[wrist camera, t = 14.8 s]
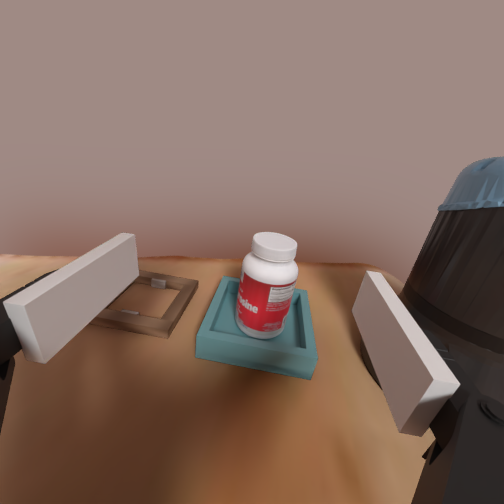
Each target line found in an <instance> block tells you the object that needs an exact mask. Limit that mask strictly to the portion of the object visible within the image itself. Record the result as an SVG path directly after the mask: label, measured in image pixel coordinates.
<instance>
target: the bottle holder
mask: <svg viewBox="0 0 504 504" xmlns="http://www.w3.org/2000/svg"><path fill="white" fill-rule="evenodd" d="M134 282H137V283H143V284H148V285H152V287H155V288H161V289H166V288H170V289H176V290H181V291H180V292H179V293H178V295H177V296H176V298H175V299H174V301H173V302H172V304H171V305H170V306H169V308H168V309H167V311H166V312H165V314H164V315H163V316H162V318H161V319H158V318H153V317H148V316H142V315H139V312H135V311H130V310H124V309H122V310H121V311H116V310H111V309H106V308H107V307H108V306H109V305H110V304H111V303H112V302H114V301H115V300H116V299H117V298H118V297H119V296H120V295H121V294H122V293H123V292H124V291H125V290H126V289H127V288H129V287H130V286H131V285H132V284H133V283H134ZM197 289H198V281H197V280H192V279H186V278H181V277H175V276H170V275H164V274H159V273H153V272H148V271H142V270H139V276H138V277H137V278H136V279H135V280H134V281H133V282H132V283H131V284H129V285H128V286H127V287H126V288H125V289H124V290H123V291H122V292H121V293H120V294H119V295H118V296H117V297H116V298H115V299H114V300H113V301H111V302H110V303H109V304H108V305H107V306H106V307H105V308H104V309H103V310H102V311H101V312H100V313H99V314H98V315H97V316H96V317H94V318H93V319H92V320H91V321H90V322H89V324H94V325H99V326H105V327H110V328H115V329H120V330H125V331H130V332H135V333H141V334H146V335H151V336H156V337H161V338H166V339H168V338H169V336H170V334H171V333H172V331H173V329H174V328H175V326H176V324H177V322H178V321H179V319H180V317H181V316H182V314H183V312H184V311H185V309H186V307H187V306H188V304H189V302H190V300H191V299H192V297H193V295H194V294H195V292H196V290H197Z"/></svg>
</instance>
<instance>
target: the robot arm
mask: <svg viewBox="0 0 504 504" xmlns="http://www.w3.org/2000/svg"><path fill="white" fill-rule="evenodd" d="M438 211H439V213H438V215H437V217H436V219H435V221H434V223H433V225H432V227H431V230H430V232H429V234H428V236H427V238H426V241H425V243H424V245H423V247H422V249H421V251H420V253H419V255H418V258H417V260H416V262H415V264H414V267H413V268H412V271H411V273H410V275H409V277H408V279H407V281H406V283H405V286H404V288H403V290H402V292H401V293H400V294H399V295H398V296H397V295H396V294H395V292H394V291H393V289H392V288H391V287H390V285H389V284H388V282H387V281H386V280H385V278H384V277H383V275H382V274H381V273H378V272H372V271H366V273H365V276H364V278H363V281H362V284H361V286H360V289H359V292H358V295H357V297H356V300H355V303H354V305H353V308H352V313H353V316H354V318H355V321H356V323H357V326H358V328H359V331H360V334H361V336H362V340H361V352H362V356H363V359H364V362H365V364H366V366H367V368H368V370H369V371H370V373H371V374H372V376H373V377H374V379H375V380H376V381H377V383H378V384H379V385H380V386H381V388H382V390H383V392H384V395H385V398H386V400H387V403H388V405H389V408H390V410H391V413H392V416H393V418H394V421H395V423H396V426H397V428H398V431H399V433H404V434H410V435H415V436H420V437H422V436H423V435H424V433H425V432H426V430H427V429H428V428H429V427H430V428H431V430H432V432H433V434H434V436H435V438H436V439H435V441H434V442H433V443H432V444H431V446H430V447H429V448H428V449H427V451H426V452H425V453H424V455H423V456H422V457H423V458H424V459H425V460H426V462H425V465H424V468H423V471H422V473H421V476H420V479H419V482H418V485H417V488H416V491H415V494H414V497H413V500H412V503H411V504H504V157H493V158H488V159H483V160H479V161H476V162H474V163H472V164H470V165H469V166H467V167H466V168H465V169H463V170H462V172H461V173H460V174H459V175H458V177H457V179H456V180H455V182H454V184H453V186H452V188H451V190H450V192H449V194H448V195H447V197H446V199H445V201H444V202H443V204H442V205H440V206H439V207H438ZM138 276H139V268H138V258H137V249H136V239H135V234H129V233H121V234H119V235H117V236H115V237H114V238H112V239H110V240H108V241H107V242H105V243H103V244H102V245H100V246H98V247H96V248H95V249H93V250H91V251H90V252H88V253H86V254H85V255H83V256H81V257H79V258H77V259H76V260H74V261H72V262H71V263H69V264H67V265H65V266H64V267H62V268H60V269H57V270H55V271H52V272H49V273H46V274H44V275H42V276H41V277H39V278H37V279H35V281H32V282H30V283H28V284H26V285H25V287H21V288H19V289H18V290H16V291H14V292H12V293H11V294H9V295H7V296H5V297H4V298H2V299H0V433H1V428H2V424H3V419H4V414H5V409H6V405H7V400H8V395H9V390H10V386H11V381H12V376H13V371H14V367H15V359H14V357H13V356H14V355H15V354H16V353H17V352H19V351H20V350H21V349H22V351H23V353H24V355H25V358H26V360H27V361H33V362H38V363H43V364H46V363H47V362H48V361H49V360H50V359H51V358H52V357H53V356H54V355H55V354H56V353H57V352H58V351H60V350H61V349H62V348H63V347H64V346H65V345H66V344H67V343H68V342H69V341H70V340H71V339H72V338H73V337H74V336H75V335H76V334H78V333H79V332H80V331H81V330H82V329H83V328H84V327H85V326H86V325H87V324H88V323H89V322H90V321H91V320H92V319H93V318H94V317H96V316H97V315H98V314H99V313H100V312H101V311H102V310H103V309H104V308H105V307H106V306H107V305H108V304H109V303H110V302H111V301H113V300H114V299H115V298H116V297H117V296H118V295H119V294H120V293H121V292H122V291H123V290H124V289H125V288H126V287H127V286H128V285H129V284H131V283H132V282H133V281H134V280H135V279H136V278H137V277H138Z"/></svg>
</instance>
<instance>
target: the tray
mask: <svg viewBox="0 0 504 504" xmlns="http://www.w3.org/2000/svg"><path fill="white" fill-rule="evenodd" d="M239 283H240V278H234V277H228V276H223V278H222V280H221V282H220V284H219V287H218V289H217V291H216V293H215V296H214V298H213V300H212V302H211V304H210V307H209V309H208V311H207V313H206V316H205V318H204V320H203V322H202V324H201V327H200V329H199V331H198V333H197V336H196V354H195V357H196V358H201V359H206V360H211V361H216V362H221V363H226V364H231V365H236V366H241V367H247V368H252V369H257V370H262V371H267V372H272V373H277V374H282V375H287V376H292V377H297V378H302V379H308V380H311V377H312V374H313V372H314V369H315V366H316V363H317V360H318V357H317V350H316V344H315V338H314V332H313V326H312V320H311V313H310V307H309V301H308V295H307V290H301V289H295V288H294V292H293V296H292V300H291V303H290V307H289V311H288V315H287V319H286V323H285V326H284V329H283V331H282V332H281V333H280V334H279V335H278V336H276V337H273V338H270V339H257V338H253V337H250V336H248V335H246V334H245V333H244V332H242V331H241V330H240V328H239V327H238V326H237V323H236V320H235V312H236V305H237V297H238V290H239Z"/></svg>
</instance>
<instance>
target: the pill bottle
mask: <svg viewBox="0 0 504 504" xmlns="http://www.w3.org/2000/svg"><path fill="white" fill-rule="evenodd" d="M251 247H252V252H250V253H249V254H247V256H245V258H244V260H243V263H242V270H241V276H240V283H239V290H238V297H237V305H236V312H235V320H236V323H237V326H238V327H239V328H240V330H241V331H242V332H244V333H245V334H246V335H248V336H250V337H253V338H257V339H270V338H273V337H276V336H278V335H279V334H280V333H281V332H282V331H283V329H284V326H285V323H286V319H287V315H288V311H289V307H290V303H291V300H292V296H293V292H294V288H295V284H296V280H297V277H298V267H297V264H296V263H295V261H294V260H293V259H294V258H295V256H296V250H297V242H296V241H295V240H294V239H292V238H290V237H288V236H285V235H283V234H279V233H273V232H260V233H257V234H255V235H254V237H253V241H252V246H251Z"/></svg>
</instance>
